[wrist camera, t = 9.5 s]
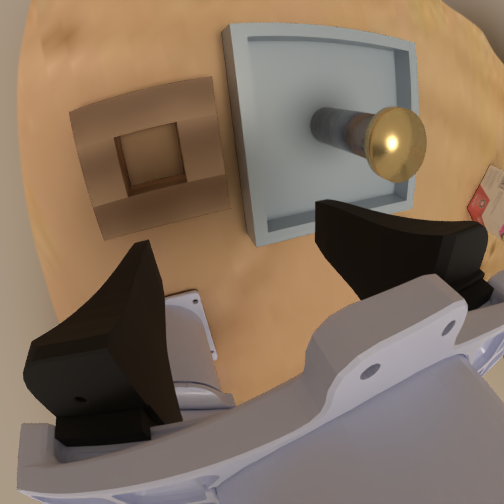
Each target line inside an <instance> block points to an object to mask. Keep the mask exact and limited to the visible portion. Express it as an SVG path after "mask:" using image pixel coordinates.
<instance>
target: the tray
mask: <svg viewBox="0 0 504 504" xmlns="http://www.w3.org/2000/svg"><path fill="white" fill-rule="evenodd" d="M221 33H222V41H223V49H224V57H225V65H226V73H227V80H228V88H229V96H230V104H231V112H232V120H233V128H234V135H235V143H236V151H237V159H238V167H239V174H240V182H241V190H242V198H243V205H244V213H245V221H246V228H247V234H248V235H249V237H250V238H251V240H252V241H253V243H254V244H255V246H256V247H260V246H264V245H268V244H272V243H276V242H280V241H284V240H288V239H292V238H296V237H300V236H304V235H308V234H312V233H315V201H320V200H325V199H331V200H337V201H341V202H345V203H349V204H352V205H356V206H360V207H363V208H367V209H370V210H374V211H378V212H382V213H386V214H392V213H396V212H400V211H404V210H408V209H412V207H413V199H414V190H415V180H416V174H415V175H414V176H413V177H411V178H410V179H408V180H407V181H404V182H401V183H393V182H390V181H388V180H386V179H384V178H382V177H380V176H378V175H376V174H375V173H374V172H373V171H372V169H371V168H370V166H369V164H368V162H367V160H366V159H365V158H363V157H360V156H358V155H355V154H352V153H349V152H347V151H344V150H341V149H338V148H335V147H333V146H330V145H327V144H324V143H321V142H319V141H317V140H316V139H315V138H314V136H313V135H312V132H311V128H310V122H311V118H312V116H313V114H314V113H315V112H316V111H317V110H319V109H320V108H323V107H331V108H339V109H346V110H353V111H359V112H365V113H371V114H376V113H377V112H378V111H380V110H381V109H383V108H385V107H389V106H395V107H401V108H407V109H409V110H411V111H413V112H414V113H416V114H417V116H418V117H419V96H418V72H417V58H416V47H415V43H414V42H410V41H407V40H403V39H399V38H395V37H390V36H386V35H381V34H376V33H371V32H366V31H360V30H354V29H348V28H340V27H332V26H323V25H312V24H298V23H235V24H229V25H228V26H227V27H226V28H225V29H224V30H223V31H222V32H221Z"/></svg>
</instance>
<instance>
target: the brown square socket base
mask: <svg viewBox="0 0 504 504" xmlns="http://www.w3.org/2000/svg"><path fill="white" fill-rule="evenodd" d="M69 115H70V121H71V126H72V130H73V135H74V140H75V144H76V148H77V152H78V156H79V160H80V164H81V168H82V172H83V176H84V179H85V183H86V186H87V190H88V193H89V196H90V200H91V203H92V206H93V209H94V212H95V215H96V218H97V221H98V224H99V227H100V230H101V233H102V236H103V239H104V241H106V240H109V239H113V238H116V237H120V236H124V235H127V234H131V233H135V232H138V231H142V230H146V229H150V228H154V227H157V226H161V225H165V224H169V223H173V222H177V221H181V220H185V219H189V218H193V217H198V216H202V215H206V214H210V213H214V212H219V211H223V210H228V209H231V208H230V202H229V195H228V188H227V181H226V175H225V168H224V161H223V154H222V147H221V140H220V133H219V125H218V118H217V111H216V104H215V96H214V89H213V81H212V76H211V77H204V78H197V79H191V80H185V81H180V82H175V83H170V84H165V85H160V86H155V87H151V88H147V89H143V90H139V91H135V92H131V93H127V94H123V95H120V96H116V97H113V98H110V99H106V100H103V101H100V102H97V103H94V104H91V105H88V106H85V107H82V108H79V109H76V110H73V111H71V112H69ZM173 122H175V124H176V130H177V135H178V141H179V147H180V152H181V158H182V163H183V169H184V173H183V174H179V175H175V176H170V177H166V178H162V179H158V180H154V181H150V182H147V183H143V184H139V185H135V186H132V187H131V185H130V181H129V177H128V173H127V168H126V164H125V160H124V155H123V151H122V146H121V142H120V137H119V136H121V135H125V134H128V133H132V132H136V131H140V130H143V129H147V128H151V127H156V126H160V125H164V124H169V123H173Z"/></svg>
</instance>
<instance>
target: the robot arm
mask: <svg viewBox="0 0 504 504" xmlns="http://www.w3.org/2000/svg"><path fill="white" fill-rule="evenodd" d="M315 243H316V244H317V246H318V247H319V249H320V251H321V252H322V254H323V255H324V257H325V258H326V259H327V260H328V262H329V263H330V264H331V265H332V266H333V267H334V269H335V270H336V271H337V272H338V273H339V274H340V275H341V276H342V278H343V279H344V280H345V281H346V282H347V283H348V284H349V286H350V287H351V288H352V289H353V290H354V292H355V293H356V294H357V295H358V297H359V298H360V300H361V301H359V302H356V303H353V304H351V305H348V306H346V307H344V308H343V309H341V310H339V311H337V312H336V313H334V314H332V315H330V316H329V317H328V318H327V319H326V320H325V321H324V322H323V323H322V324H321V325H320V326H319V327H318V328H317V329H316V330H315V331H314V333H313V335H312V337H311V340H310V342H309V345H308V347H307V350H306V354H305V368H304V371H303V372H302V373H300V374H298V375H297V376H295V377H293V378H291V379H289V380H288V381H286V382H284V383H282V384H280V385H278V386H276V387H274V388H272V389H271V390H269V391H267V392H265V393H263V394H261V395H259V396H257V397H255V398H253V399H251V400H248V401H246V402H244V403H242V404H240V405H238V406H236V405H235V402H234V399H233V396H232V394H231V393H223V392H222V388H221V385H220V382H219V378H218V375H217V371H216V368H215V365H214V360H216V359H217V358H218V356H217V353H216V349H215V346H214V343H213V340H212V336H211V333H210V330H209V326H208V323H207V319H206V316H205V312H204V309H203V305H202V302H201V298H200V295H199V292H198V291H195V290H193V291H189V292H185V293H181V294H177V295H173V296H169V297H164V290H163V284H162V279H161V276H160V273H159V270H158V267H157V264H156V261H155V258H154V255H153V252H152V248H151V245H150V242H149V240H145V241H141V242H137V243H134V245H133V246H132V247H131V248H130V250H129V251H128V253H127V254H126V256H125V257H124V258H123V260H122V261H121V263H120V264H119V265H118V267H117V268H116V269H115V271H114V272H113V273H112V274H111V276H110V277H109V278H108V280H107V281H106V282H105V283H104V285H103V286H102V287H101V288H100V289H99V290H98V291H97V292H96V293H95V294H94V295H93V296H92V297H91V298H90V299H89V300H88V301H87V302H86V303H85V304H84V305H83V306H81V307H80V308H79V309H78V310H77V311H76V312H75V313H74V314H72V315H71V316H70V317H68V318H67V319H66V320H64V321H63V322H62V323H60V324H59V325H58V326H56V327H55V328H53V329H52V330H50V331H48V332H47V333H45V334H43V335H42V336H40V337H38V338H37V339H35V340H33V341H32V342H31V346H30V349H29V352H28V356H27V360H26V363H25V367H24V371H23V379H24V382H25V384H26V386H27V388H28V389H29V390H30V392H31V393H32V394H33V395H34V397H35V398H36V399H38V400H39V401H40V402H41V403H42V404H43V405H44V406H45V407H46V408H47V409H48V410H49V411H50V412H51V413H52V414H54V415H55V416H56V426H54V425H51V424H48V423H23V424H22V425H21V432H20V441H19V452H18V468H17V490H18V491H19V492H20V493H22V494H24V495H26V496H28V497H30V498H33V499H35V500H37V501H39V502H42V503H44V504H504V403H503V402H502V401H501V399H500V398H499V397H498V395H497V394H496V393H495V392H494V390H493V389H492V388H491V387H490V386H489V384H488V383H487V382H486V381H485V380H484V378H483V376H484V375H485V373H486V372H488V371H489V369H490V368H491V367H492V366H493V365H494V364H495V363H496V362H497V361H498V360H499V359H500V358H501V357H502V356H503V355H504V271H503V270H501V271H499V272H498V273H497V274H495V275H494V276H492V277H491V278H490V279H489V281H488V282H486V281H485V280H484V279H482V278H483V277H484V275H485V274H484V272H483V271H481V270H480V266H481V263H482V260H483V257H484V254H485V251H486V247H487V243H488V232H487V229H486V227H485V226H483V225H482V224H480V223H479V222H477V221H429V220H420V219H412V218H406V217H400V216H395V215H390V214H386V213H382V212H378V211H374V210H370V209H367V208H363V207H360V206H356V205H352V204H349V203H345V202H341V201H337V200H331V199H325V200H320V201H315ZM195 299H197V301H193V300H195ZM211 350H212V351H211Z"/></svg>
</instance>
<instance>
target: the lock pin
mask: <svg viewBox="0 0 504 504" xmlns="http://www.w3.org/2000/svg"><path fill="white" fill-rule="evenodd" d="M310 128H311V132H312V135H313V136H314V138H315V139H316V140H317V141H319V142H321V143H324V144H327V145H330V146H333V147H335V148H338V149H341V150H344V151H347V152H349V153H352V154H355V155H358V156H360V157H363V158H365V159H366V160H367V162H368V164H369V166H370V168H371V169H372V171H373V172H374V173H375V174H376V175H378V176H380V177H382V178H384V179H386V180H388V181H390V182H393V183H401V182H404V181H407V180H408V179H410V178H411V177H413V176H414V175H415V174H416V172H417V171H418V170H419V168H420V166H421V164H422V162H423V160H424V156H425V152H426V143H427V140H426V132H425V128H424V126H423V123H422V121H421V119H420V118H419V117H418V116H417V114H416V113H414V112H413V111H411V110H409V109H407V108H401V107H395V106H389V107H385V108H383V109H381V110H380V111H378V112H377V113H376V114H371V113H365V112H359V111H353V110H346V109H339V108H331V107H323V108H320V109H319V110H317V111H316V112H315V113H314V114H313V116H312V118H311V122H310Z"/></svg>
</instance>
